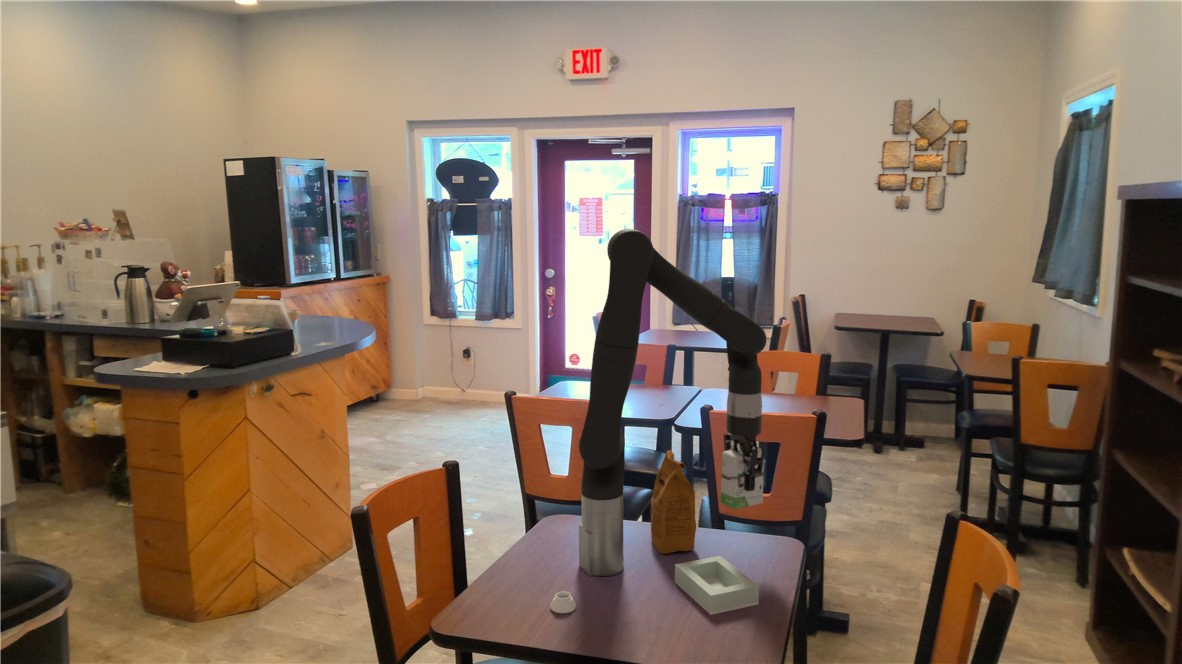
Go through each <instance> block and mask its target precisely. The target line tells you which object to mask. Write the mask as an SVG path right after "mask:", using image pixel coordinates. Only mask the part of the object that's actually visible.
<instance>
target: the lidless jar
mask: <svg viewBox="0 0 1182 664" xmlns="http://www.w3.org/2000/svg"><path fill="white" fill-rule="evenodd" d="M576 605H577V604H576V602H575V600H574V599H573V597H572V595H571V593H570V592H569V591H559V592H557V593H555V595H554V597H553V598H552V600H551V602H550V610H551V611H552V612H554V613H558V614H568V613H572V612H573V611H575V609H576Z"/></svg>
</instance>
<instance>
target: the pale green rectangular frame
mask: <svg viewBox="0 0 1182 664" xmlns="http://www.w3.org/2000/svg"><path fill="white" fill-rule="evenodd" d="M674 583H675V584H676V585H677V586H678V587H680V588H681V590H683V591H684V592H685V593H686V594H687V595H689V597H691V599H692V600H694V601H695V602H696V603H697V604H698V605H699V606H700V607H701V608H702V609H704V611H706V612H707V613H708V614H709V616H712V615H718V614H721V613H725V612H730V611H734V610H739V609H744V608H748V607H754V606H757V605H759V600H760V599H759V598H760V585H759V584H757V583H756V582H755V581H754V580H752V579H751V578H749V576H747V575H745V573H743V572H742V571H740V570H739V569H738V568H737V567H735V566H734V565H733V564H731V563H730V562H729V561H727V560H726V559H725V558H724V557H722V556H720V555H717V556H713V557H706V558H701V559H697V560H690V561H686V562H681V563H675V564H674Z"/></svg>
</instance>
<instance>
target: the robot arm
mask: <svg viewBox="0 0 1182 664" xmlns="http://www.w3.org/2000/svg"><path fill="white" fill-rule="evenodd" d="M652 242H653V241H652V240H651V239H650V237H649V236H648V235H647V234H645V232H642V231H641V230H638V229H634V228H625V229H620V230H619V231H616V233H614V234H613V235H612V236H611V237H610V239H609V241H608V243H607V257H608V259H609V277H608V278H609V280H608V290H607V296H606V300H605V304H604V306H603V309H602V312H601V315H600V319H599V322H598V325H597V329H596V334H595V339H594V345H593V353H592V359H591V360H592V363H591V368H590V369H591V371H590V372H591V373H590V381H589V382H590V384H589V400H588V407H587V411H586V414H585V415H586V416H585V419H584V424H583V428H582V431H581V435H580V438H579V442H578V452H579V455H580V457H581V459H582V461H583V468H582V469H583V470H582V477H581V485H580V486H581V489H580V490H581V492H580V493H581V524H579V525H578V565H579V566H580V568H581V569H582V570H583V571H584V572H585V573H586V575H587V576H598V577H604V576H606V577H607V576H613V575H616V574H618V573H620V572H622V571H623V569H624V482H625V463H626V462H625V461H626V460H625V456H626V455H625V447H626V446H625V445H626V444H625V441H626V440H625V436H624V432H623V430H622V427H621V426H622V418H623V417H622V416H623V411H624V410H623V409H624V405H625V401H626V398H627V395H628V392H629V389H630V385H631V382H632V379H633V376H634V371H635V366H636V361H637V354H638V349H639V341H640V333H641V332H640V331H641V322H642V308H643V299H644V297H643V296H644V293H645V290H646V285H647V284H648V285H650V286H651V287H653V288H655V289H656V290H657V291H658V292H660V293H661V294H663V295H664V296H665V297H666V298H668V300H669V301H671V302H672V303H674V304H675V306H677V307H678V308H679V309H681V310H682V311H683V312H684V314H685V313H686V314H687V315H688V316H689V317H690V318H692V319H693V320H695V321H696V322H698V323H699V324H700V325H701V326H702V327H704V328H706V329H708V330H709V331H711V332H713V333H715V334H716V335H717V336H719V337H720V338H721V339H722V340H724V341H725V342H726V355H727V362H728V363H727V364H728V368H729V372H728V373H729V374H728V394H727V399H726V427H725V429H726V432H727V433H724V434H723V448H724V449H723V450H724V451H729V450H733V451H736V452H738V453H739V454H740V456H742V458H743V464H744V470H745V478H744V490H746V491H753V490H754V489H755V475H756V474H761V473H762V468H763V461H764V462H765V453H766V450H765V448H763V447H761V448H760V447H759V446H758V443H757V436H759V435H761V433H762V422H763V421H762V418H763V415H762V414H763V399H762V377H763V376H762V369H761V367H760V365H759V362H758V354H760V353H761V352H762V351H763V350H764V349H765V347H766V345H767V335H766V334H767V333H766V332H765V330H764V329H763V327H762V326H761V325H759V324H758V323H756V322H755V321H754V320H752V319H750V318H749V317H747V316H746V315H745V314H743V313H741V312H740V311H739V310H737V309H735V308H734V307H732V306H731V305H730V304H729V303H728V302H727V301H726V300H724V299H723V298H722V297H720V296H719V295H718V294H716V293H715V292H714V291H712V290H711V289H710V288H709V287H707V286H705V285H704V284H702V283H701V282H699V281H697V280H696V279H694V277H691V276H690V275H688V274H686V273H685V272H683V271H682V270H680V269H679V268H678V267H676V266H674V264H673V263H670V261H668V260H667V259H666V258H664V256H662V255H661V253H660V252H658V251H657V249H656V248H654V245H653V243H652ZM724 451H723V452H724ZM745 456H746V457H751V460H746V459H745ZM749 463H750V468H749V467H748V464H749ZM756 465H758V467H757V466H756Z"/></svg>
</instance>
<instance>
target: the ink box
mask: <svg viewBox="0 0 1182 664" xmlns="http://www.w3.org/2000/svg"><path fill="white" fill-rule="evenodd" d="M745 459H746V460H751V457H746V456H745ZM756 466H757V467H758V465H756ZM748 467H749V468H750V463H749V464H748ZM764 471H765V460H764V461H763V468H762V473H761V474H756V475H755V489H754V490H753V491H746V490H744V478H745V470H744V464H743V458H742V456H740V454H739V453H738V452H736V451H733V450H730V449H729V451H723V452H721V478H720V479H721V482H720V484H721V485H720V504H722V505H724V506H727V507H729V508H731V509H733V510H739V509H744V508H747V507H751V506H756V505H759V504H763V501H764V497H763V496H764V474H765V473H764Z"/></svg>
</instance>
